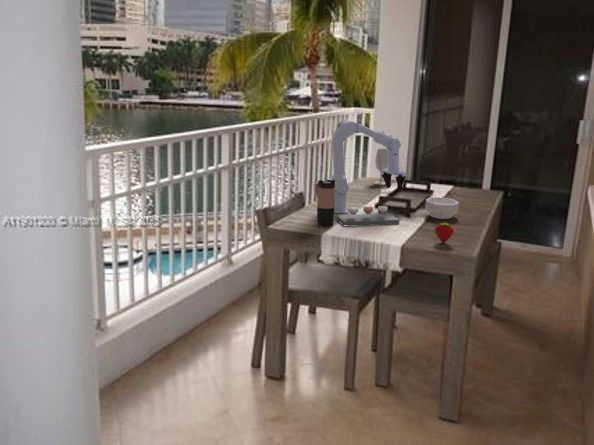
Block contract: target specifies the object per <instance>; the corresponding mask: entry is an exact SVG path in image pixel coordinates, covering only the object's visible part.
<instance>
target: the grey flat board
mask: <svg viewBox="0 0 594 445" xmlns="http://www.w3.org/2000/svg"><path fill="white" fill-rule="evenodd" d="M336 220H337V221H338V222H339V221H340V222H341V223H342V224H343V225H363V226H371V225H370V224H385V225H398V224H400V219H399V218H398V217H396V216H395V215H393V214H392V213H390V212H385V213H380V212H379V213H378V212H377V213H371V214H366V213H356V214H355V215H352V214H337V215H336ZM340 222H339V223H340ZM341 223H340V224H341ZM342 224H341V225H342Z"/></svg>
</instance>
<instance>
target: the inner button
mask: <svg viewBox="0 0 594 445" xmlns="http://www.w3.org/2000/svg"><path fill="white" fill-rule="evenodd" d="M348 212H349V213H350V215H355V214H358V213H359V207H356V206H349V207H348Z"/></svg>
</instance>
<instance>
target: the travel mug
mask: <svg viewBox="0 0 594 445" xmlns="http://www.w3.org/2000/svg"><path fill="white" fill-rule="evenodd" d="M316 201H317V203H316V204H317V205H316V210H317V211H316V220H317V221H316V224H317V226H318V225H319V226H322V227H321V228H331V227H330V226H332V227H333V226H334V221H335V220H334V219H335V213H334V205H335V181H333V180H332V179H326V180H323V179H322V180H320V179H319V180H318V181H317V200H316ZM319 226H318V227H319Z"/></svg>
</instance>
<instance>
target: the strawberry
mask: <svg viewBox="0 0 594 445" xmlns="http://www.w3.org/2000/svg"><path fill="white" fill-rule="evenodd" d="M451 225H452V224H451V223H448V222H445V220H443V221H442V222H438V224H437V225H436V226H435V228H434V231H435V232H434V233H435V235H436V236H437V238H438V239H439V241H440V242H441V243H443V244H445V243H446V242H447V241H448V240H449V239H450V238H451V237H452V236H453V234H454V228H453V227H452V226H451Z"/></svg>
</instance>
